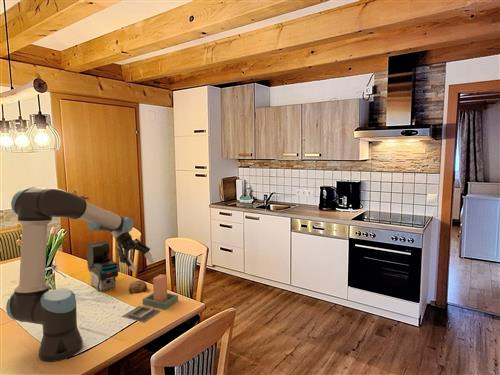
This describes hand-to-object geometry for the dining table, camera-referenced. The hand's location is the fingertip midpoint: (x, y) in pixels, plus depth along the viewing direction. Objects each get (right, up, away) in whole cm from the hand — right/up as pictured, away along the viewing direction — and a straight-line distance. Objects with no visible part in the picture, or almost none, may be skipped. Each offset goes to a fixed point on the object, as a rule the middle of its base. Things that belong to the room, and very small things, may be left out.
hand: (144, 266), depth 169 cm
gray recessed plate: (+3, -20, -14) cm, 25 cm away
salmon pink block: (+9, -18, -2) cm, 21 cm away
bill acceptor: (-31, -17, +20) cm, 41 cm away
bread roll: (-8, -18, +14) cm, 24 cm away
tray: (+9, -19, -2) cm, 22 cm away
